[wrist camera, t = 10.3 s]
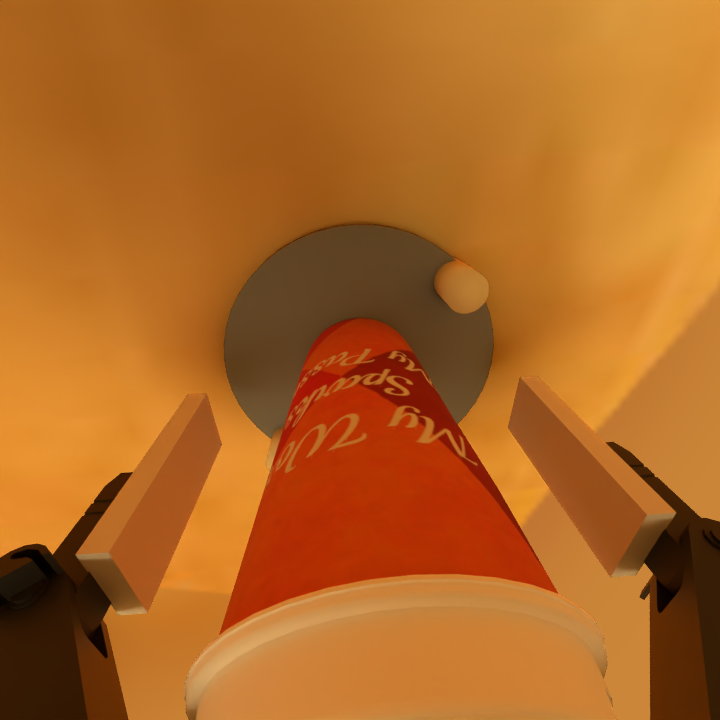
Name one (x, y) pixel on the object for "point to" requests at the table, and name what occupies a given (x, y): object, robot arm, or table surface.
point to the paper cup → (390, 568)
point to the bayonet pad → (356, 315)
